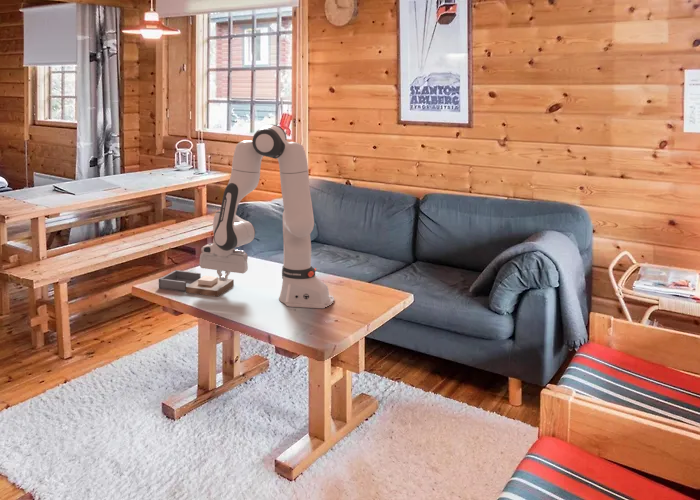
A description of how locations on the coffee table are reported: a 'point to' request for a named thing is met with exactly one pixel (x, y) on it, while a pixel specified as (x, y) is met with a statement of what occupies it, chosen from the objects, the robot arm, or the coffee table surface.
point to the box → (178, 280)
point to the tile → (207, 280)
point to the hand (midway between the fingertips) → (223, 280)
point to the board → (210, 288)
